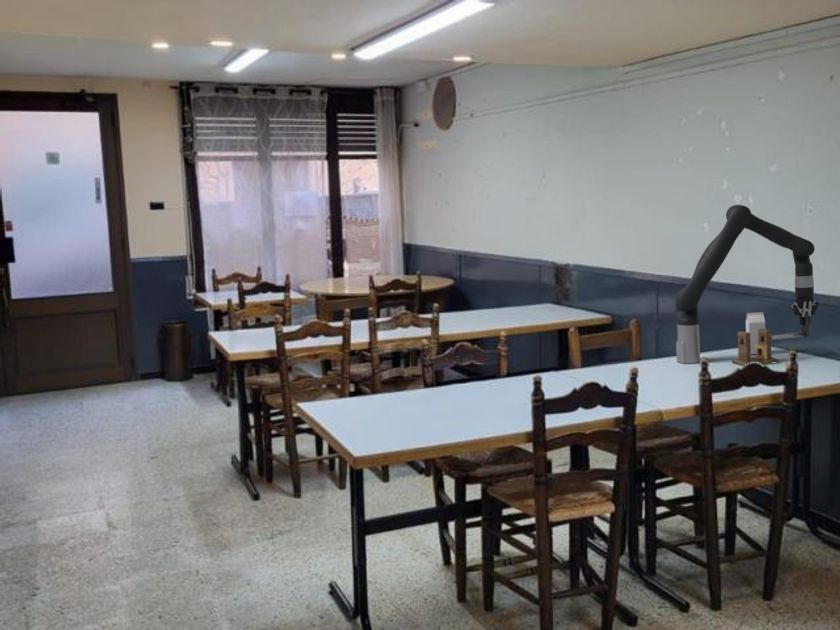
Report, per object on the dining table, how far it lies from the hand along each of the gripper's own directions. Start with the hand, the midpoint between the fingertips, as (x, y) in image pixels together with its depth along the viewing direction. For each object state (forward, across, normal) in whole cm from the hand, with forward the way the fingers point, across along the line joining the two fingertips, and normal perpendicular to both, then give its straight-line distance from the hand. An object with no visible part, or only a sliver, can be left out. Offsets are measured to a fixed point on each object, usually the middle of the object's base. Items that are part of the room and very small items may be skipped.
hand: (805, 324), depth 369 cm
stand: (+14, -25, 0) cm, 29 cm away
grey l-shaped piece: (+5, -9, 0) cm, 11 cm away
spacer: (+13, -22, 0) cm, 25 cm away
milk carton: (+14, -12, +18) cm, 26 cm away
